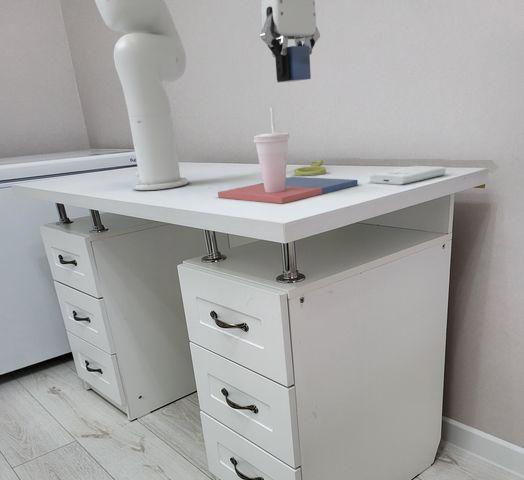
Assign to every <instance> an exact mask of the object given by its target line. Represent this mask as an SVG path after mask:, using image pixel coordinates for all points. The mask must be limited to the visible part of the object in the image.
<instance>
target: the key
mask: <svg viewBox="0 0 524 480" xmlns="http://www.w3.org/2000/svg"><path fill="white" fill-rule="evenodd" d="M323 164H324V160H323V159H319V160H317V161H312V162H311V165H310V166H302V167H297V168H295V169H294V175H295V177H300V176H301V177H303V176H321V175H325V174H326V172H327V169H326V166H322V165H323Z"/></svg>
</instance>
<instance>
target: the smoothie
mask: <svg viewBox="0 0 524 480" xmlns="http://www.w3.org/2000/svg"><path fill="white" fill-rule="evenodd" d="M269 109H270V110H269V112H270V123H271V133H270V132H269V133H260V134H257V135H253V143H254V144H255V147H256V152H257V158H258V163H259V167H260V172H261V177H262V178H261V179H262V183H264V188H265V192H281V191H284V190H285V183H286V178H287V162H288V161H287V160H288V140H290V134H289V132H276V126H275V125H276V124H275V112H274V109H275V108H274V107H273V106H272V107H269Z"/></svg>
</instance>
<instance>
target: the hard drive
mask: <svg viewBox="0 0 524 480" xmlns="http://www.w3.org/2000/svg"><path fill="white" fill-rule="evenodd" d="M446 170H447V169H446V167H445V166H435V165H434V166H432V165H410V166H406V167H401V168H398V169H393V170H392V169H391V170H388V171H384V172H383V171H382V172H378V173H374V174H370V175H369V182H370V183H371V184H383V185H400V186H402V185H407V184H410V183H414V182H419V181H423V180H428V179H431V178H436V177H440V176H444V175H446Z"/></svg>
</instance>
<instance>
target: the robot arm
mask: <svg viewBox="0 0 524 480" xmlns="http://www.w3.org/2000/svg"><path fill="white" fill-rule="evenodd" d="M94 2H95V5H96V7H97V9H98V12H99V14H100V16H101V19H102V20H103V22H104V23H105V25H106V27H107V28H109V29H110V30H112V31H114V32H117V33H125V34H124V35H122V36H121V37H119V38H118V40H117V41H116V43H115V45H114V47H113V48H114V49H113V63H114V66H115V71H116V73H117V76H118V79H119V82H120V84H121V87H122V88H121V89H122V92H123V95H124V100H125V105H126V109H127V115H128V120H129V127H130V131H131V139H132V142H133V148H134V155H135V160H136V166H137V170H136V171H135V173H134V174H135V175H134V176H135V177H138V178H139V179H138V180H139V181H138V182H135V183H134V184H133V189H134V190H135V191H156V190H157V191H159V190H167V189H172V188H178V187H182V186H185V185H187V184H189V181H188V178H187V177H181V171H180V165H179V164H180V163H179V158H178V157H179V156H178V150H177V144H176V137H175V129H174V122H173V116H172V111H171V103H170V99H169V96H168V93H167V91H166V89H165V87H164V85H163V83H173V82H176V81H178V80H179V79H180V78H182V76H183V75H184V73H185V71H186V69H187V68H186V67H187V56H186V51H185V48H184V45H183V42H182V39H181V37H180V35H179V32H178V30H177V27H176V24H175V22H174V20H173V17H172V15H171V12H170V10H169V7H168V5H167V3H166V1H165V0H94ZM260 14H261V15H260V17H261V19H260V20H261V32H260V34H259V36H260V39H261V40H262V41H263V42H264V43H265V44H266V45H267V47H268V48H269V50H270V51H271V55H272V57H273V58H275V59H274V61H275V69H276V70H275V72H276V73H275V74H276V82H277V81H285V80H290V79H291V71H290V57H289V55H286V54H287V47H289V40H294V44H295V46H309V53H310V56H311V55H312V53H313V48H314V47H315V44H316V43H317V42H318V40H319V39H320V37H321V33H320V31H319V29H318V27H317V13H316V0H260ZM310 74H312V73H311V72H310Z"/></svg>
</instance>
